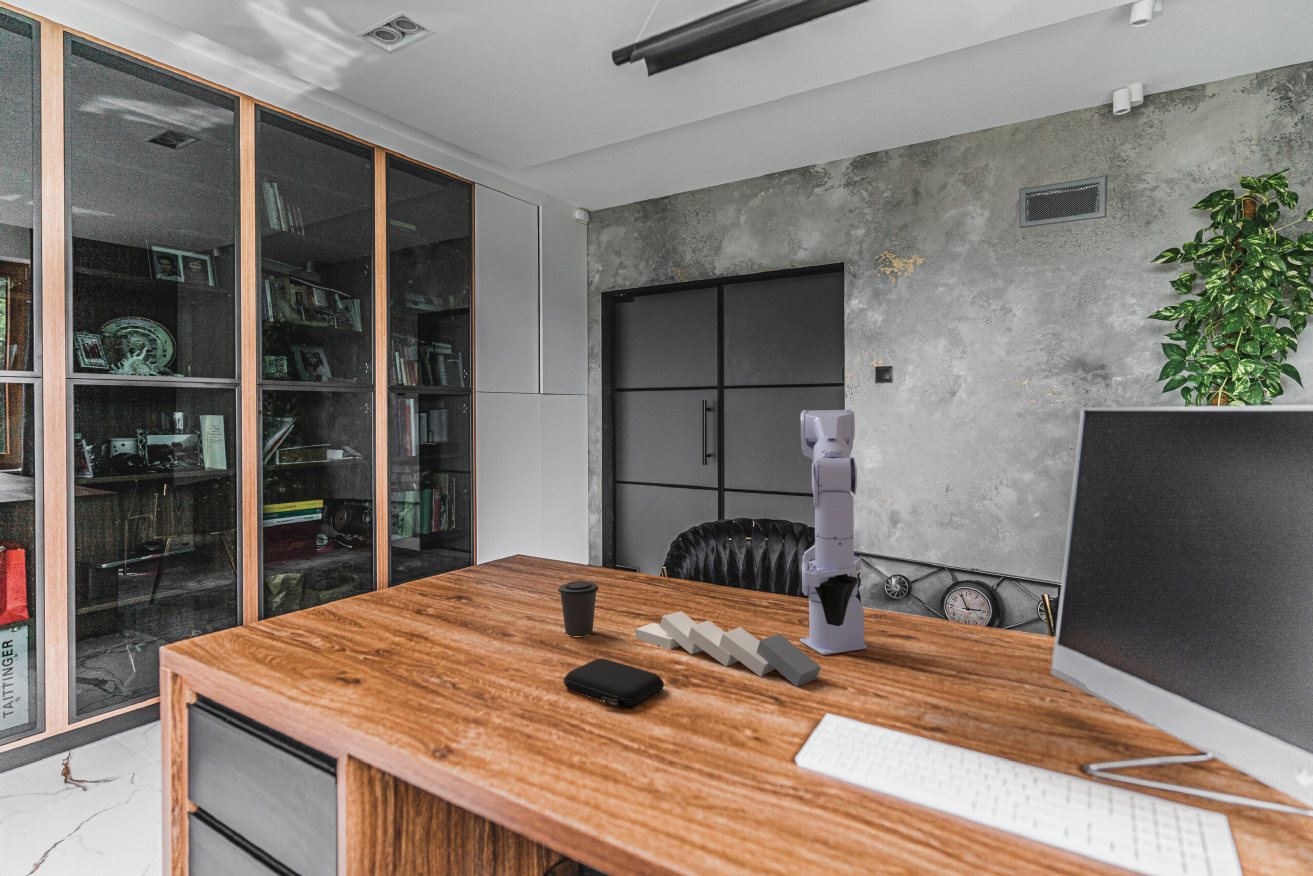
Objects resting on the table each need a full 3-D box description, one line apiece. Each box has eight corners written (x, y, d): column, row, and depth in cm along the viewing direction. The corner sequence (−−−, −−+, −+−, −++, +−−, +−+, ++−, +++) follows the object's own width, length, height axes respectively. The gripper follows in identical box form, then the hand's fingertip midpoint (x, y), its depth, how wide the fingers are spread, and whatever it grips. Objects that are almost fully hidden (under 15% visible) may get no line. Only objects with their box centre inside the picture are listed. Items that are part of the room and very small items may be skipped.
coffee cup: (550, 637, 123) (550, 586, 123) (571, 624, 131) (570, 576, 130) (587, 642, 120) (586, 590, 120) (606, 628, 128) (605, 580, 127)
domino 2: (713, 637, 115) (681, 611, 122) (694, 642, 112) (662, 615, 118) (710, 648, 116) (678, 622, 122) (691, 654, 112) (659, 626, 119)
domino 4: (781, 656, 106) (739, 626, 111) (765, 664, 102) (722, 634, 108) (776, 667, 106) (735, 638, 112) (760, 677, 103) (718, 645, 108)
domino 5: (820, 666, 101) (779, 633, 107) (801, 674, 98) (760, 640, 104) (816, 678, 101) (776, 645, 108) (796, 687, 98) (756, 652, 105)
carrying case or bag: (552, 693, 98) (625, 719, 89) (552, 674, 98) (625, 698, 89) (598, 671, 107) (669, 693, 98) (598, 653, 106) (669, 673, 98)
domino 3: (746, 646, 110) (708, 620, 116) (730, 654, 106) (691, 627, 112) (743, 658, 111) (704, 631, 116) (726, 666, 107) (687, 638, 113)
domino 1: (687, 632, 119) (653, 622, 125) (670, 639, 115) (635, 629, 122) (687, 645, 119) (653, 634, 125) (670, 652, 116) (635, 641, 122)
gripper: (832, 527, 104) (833, 608, 104) (786, 539, 94) (787, 630, 94) (873, 531, 99) (874, 616, 100) (829, 545, 89) (830, 640, 89)
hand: (834, 624), depth 96 cm, fingers closed
